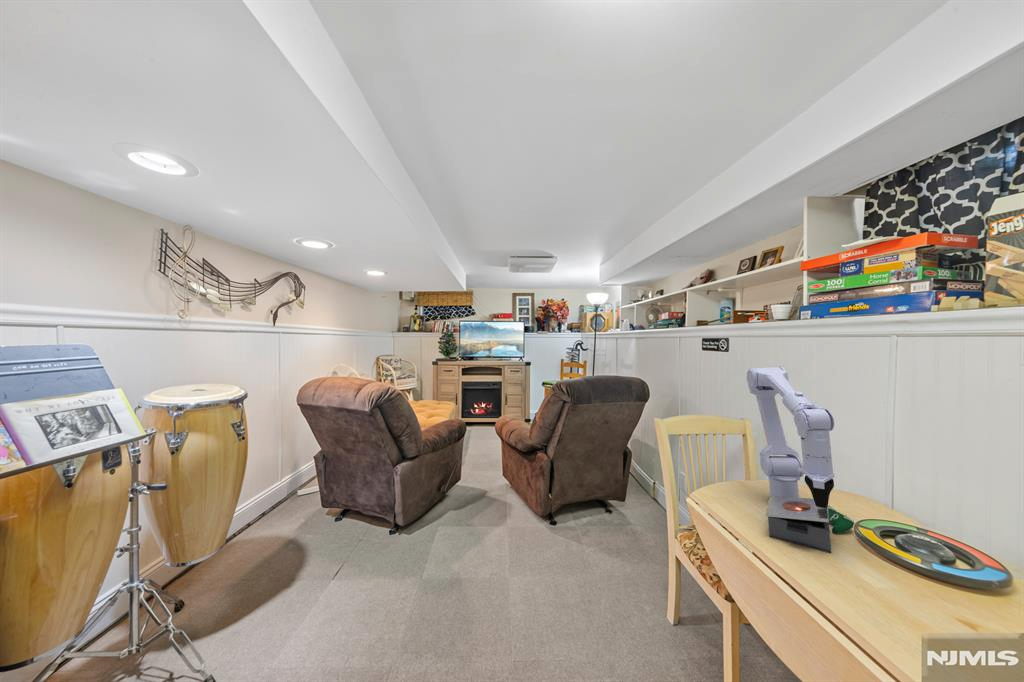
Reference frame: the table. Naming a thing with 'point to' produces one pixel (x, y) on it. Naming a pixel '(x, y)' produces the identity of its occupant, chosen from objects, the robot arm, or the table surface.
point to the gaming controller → (839, 521)
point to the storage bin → (801, 532)
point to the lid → (796, 509)
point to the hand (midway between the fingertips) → (821, 506)
